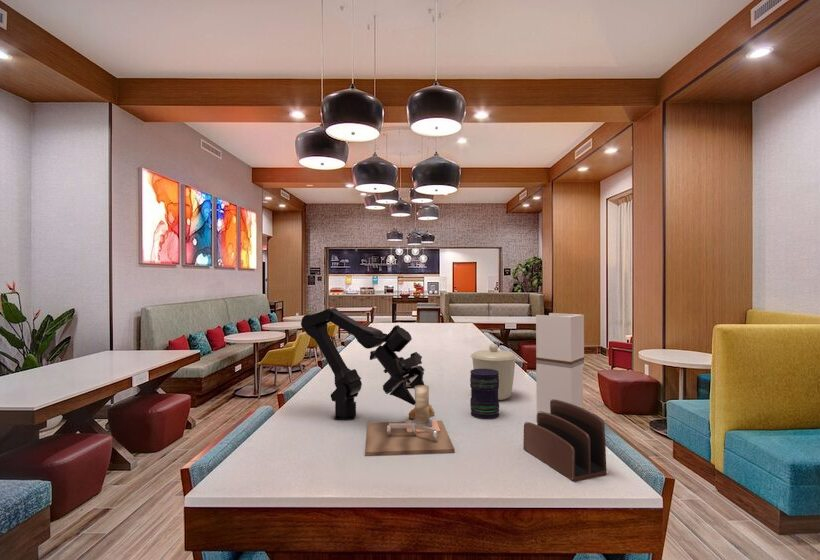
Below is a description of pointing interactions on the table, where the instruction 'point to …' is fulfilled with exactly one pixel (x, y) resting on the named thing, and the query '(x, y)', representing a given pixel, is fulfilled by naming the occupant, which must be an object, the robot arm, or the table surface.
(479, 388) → the storage jar
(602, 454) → the letter holder
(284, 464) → the table surface
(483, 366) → the canister
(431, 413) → the pastry
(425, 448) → the board
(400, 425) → the bent metal bar
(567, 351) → the grooved white pillar
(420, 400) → the peg
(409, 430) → the pad
